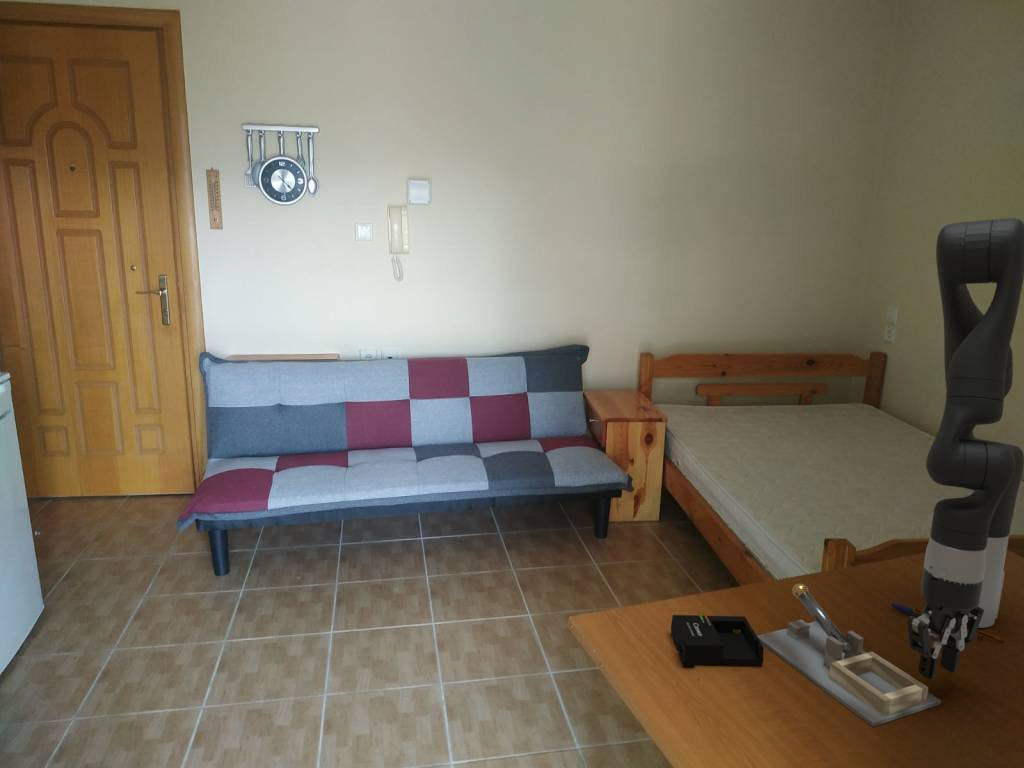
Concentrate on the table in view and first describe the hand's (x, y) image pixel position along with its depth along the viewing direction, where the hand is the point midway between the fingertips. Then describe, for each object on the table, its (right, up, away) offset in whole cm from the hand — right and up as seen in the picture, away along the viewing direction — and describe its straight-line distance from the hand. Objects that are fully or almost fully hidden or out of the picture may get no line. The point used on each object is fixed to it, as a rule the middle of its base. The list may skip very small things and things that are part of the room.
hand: (937, 672), depth 106 cm
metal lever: (-14, +4, +10) cm, 18 cm away
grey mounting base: (-12, -2, +6) cm, 14 cm away
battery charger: (-31, -1, +11) cm, 33 cm away
